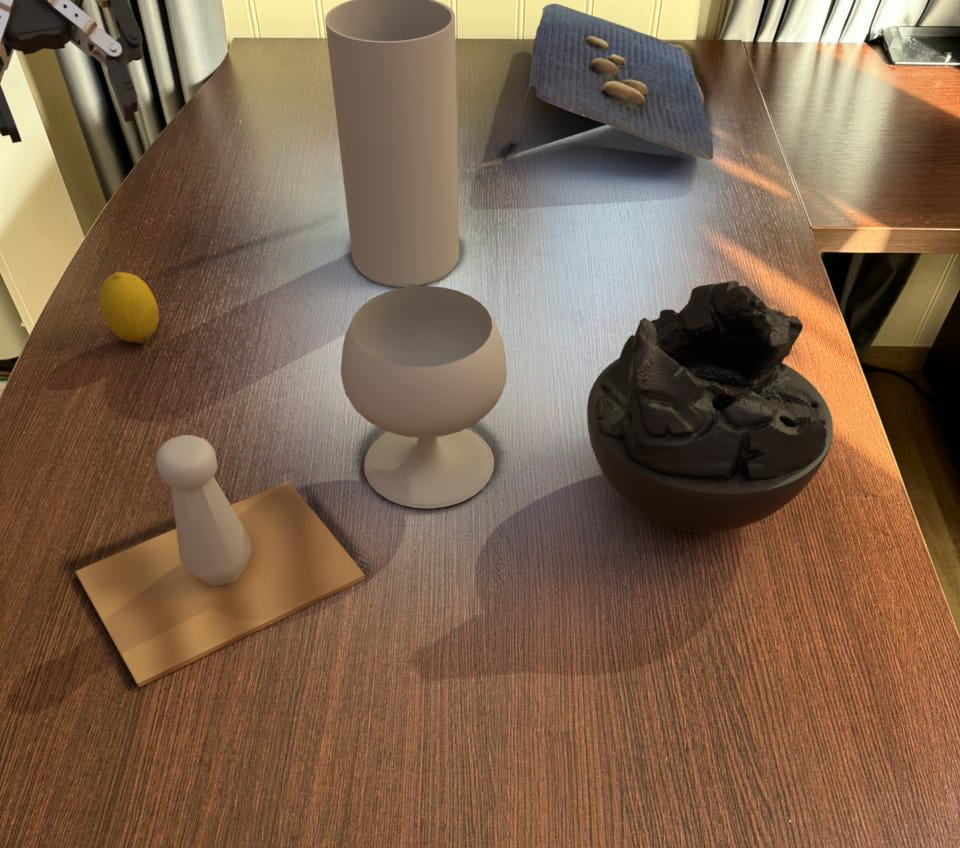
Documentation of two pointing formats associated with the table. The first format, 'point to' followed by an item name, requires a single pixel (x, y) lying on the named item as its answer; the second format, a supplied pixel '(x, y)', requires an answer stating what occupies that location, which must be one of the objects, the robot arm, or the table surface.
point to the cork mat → (219, 609)
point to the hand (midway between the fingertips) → (73, 127)
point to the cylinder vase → (397, 136)
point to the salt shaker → (202, 512)
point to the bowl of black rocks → (709, 414)
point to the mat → (619, 79)
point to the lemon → (128, 307)
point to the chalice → (425, 391)
